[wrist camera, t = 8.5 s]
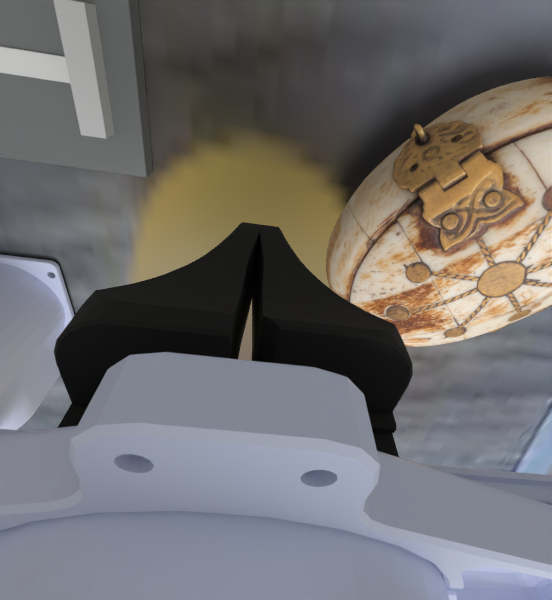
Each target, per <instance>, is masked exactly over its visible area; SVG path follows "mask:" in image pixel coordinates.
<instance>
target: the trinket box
mask: <svg viewBox="0 0 552 600" xmlns="http://www.w3.org/2000/svg"><path fill="white" fill-rule="evenodd" d="M326 272H327V279H328V283H329V286H330V289H331V290H332V291H334V292H335V293H336V294H338V295H339V296H341V297H342V298H344V299H345V300H347V301H349V302H350V303H352V304H354V305H356V306H357V307H359V308H361V309H363V310H365V311H367V312H369V313H371V314H373V315H375V316H378V317H380V318H382V319H384V320H386V321H389V322H391V323H393V324H395V326H396V328H397V330H398V331H399V333H400V335H401V337H402V339H403V342H404V344H405V346H410V347H418V346H432V345H439V344H445V343H451V342H456V341H460V340H465V339H468V338H472V337H475V336H478V335H481V334H484V333H487V332H494V331H496V330H498V329H500V328H503V327H505V326H507V325H509V324H511V323H513V322H516V321H518V320H520V319H522V318H525V317H527V316H530V315H532V314H534V313H537V312H540V311H542V310H544V309H547V308H549V307H551V306H552V76H547V77H539V78H533V79H527V80H522V81H518V82H514V83H510V84H506V85H503V86H500V87H497V88H494V89H491V90H489V91H486V92H483V93H481V94H479V95H476V96H474V97H472V98H470V99H468V100H466V101H464V102H462V103H460V104H458V105H457V106H455V107H453V108H452V109H450V110H448V111H447V112H445V113H444V114H442V115H441V116H439V117H438V118H436V119H435V120H434V121H432V122H431V123H429V124H428V125H427V126H425V127H424V128H422V127H421V125H419V124H415V125H414V130H413V132H412V134H411V137H410V138H409V139H408V140H407V141H406V142H404V143H403V144H402V145H401V146H399V147H398V148H397V149H396V150H395V151H393V152H392V153H391V154H390V155H389V156H388V157H387V158H385V159H384V160H383V161H382V162H381V163H380V164H379V165H378V166H377V167H376V168H375V169H374V170H373V171H372V172H371V173H370V174H369V175H368V176H367V177H366V178H365V179H364V181H363V182H362V183H361V185H360V186H359V187H358V188H357V190H356V191H355V192H354V194H353V195H352V197H351V198H350V200H349V201H348V203H347V204H346V206H345V208H344V210H343V211H342V213H341V215H340V217H339V219H338V221H337V223H336V225H335V227H334V230H333V232H332V235H331V238H330V241H329V245H328V250H327V257H326Z"/></svg>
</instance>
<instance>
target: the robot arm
mask: <svg viewBox="0 0 552 600" xmlns="http://www.w3.org/2000/svg"><path fill="white" fill-rule="evenodd" d="M51 272H52V273H53V274H55V275H53V274H52V273H51ZM251 300H252V361H250V360H240V359H238V356H239V351H240V345H241V341H242V337H243V333H244V329H245V325H246V320H247V317H248V313H249V309H250V305H251ZM60 374H61V377H62V379H63V382H64V384H65V387H66V389H67V392H68V394H69V397H70V399H71V402H72V404H71V406H70V407H69V409H68V411H67V413H66V414H65V416H64V418H63V419H62V421H61V423H60V425H59V426H58V428H53V429H45V430H36V431H20V430H17V429H18V428H19V427H21V426H22V425H23V424H24V423H25V422H27V421H28V420H29V419H30V418H31V416H32V415H33V414H34V413H35V411H36V410H37V408H38V407H39V405H40V404H41V402H42V401H43V399H44V398H45V396H46V395H47V393H48V392H49V390H50V389H51V387H52V386H53V384H54V383H55V381H56V380H57V378H58V377H59V375H60ZM411 377H412V362H411V359H410V357H409V354H408V352H407V349H406V347H405V344H404V342H403V339H402V337H401V335H400V333H399V331H398V330H397V328H396V326H395V324H393V323H391V322H389V321H386V320H384V319H382V318H380V317H378V316H375V315H373V314H371V313H369V312H367V311H365V310H363V309H361V308H359V307H357V306H356V305H354V304H352V303H350V302H349V301H347V300H345V299H344V298H342V297H341V296H339V295H338V294H336V293H335V292H334V291H332V290H331V289H330V288H328V287H327V286H326V285H324V284H323V283H322V282H321V281H320V280H318V279H317V278H316V277H315V276H314V275H313V274H312V273H311V272H310V271H309V270H308V269H307V268H306V267H305V266H304V264H303V263H302V262H301V261H300V260H299V258H298V257H297V256H296V254H295V253H294V251H293V250H292V249H291V247H290V245H289V244H288V242H287V241H286V239H285V237H284V235H283V233H282V231H281V230H280V228H279V227H274V226H267V225H259V224H252V223H244V222H243V223H241V224H240V225H239V226H238V227H237V228H236V229H235V230H234V231H233V232H232V233H231V234H230V235H229V236H228V237H227V238H226V239H225V240H224V241H222V242H221V243H220V244H219V245H218V246H217V247H215V248H214V249H212V250H211V251H210V252H209V253H207V254H206V255H204V256H203V257H201V258H200V259H198V260H196V261H194V262H192V263H190V264H188V265H186V266H184V267H181V268H179V269H177V270H174V271H172V272H170V273H167V274H165V275H161V276H158V277H156V278H152V279H149V280H145V281H141V282H138V283H133V284H129V285H124V286H118V287H113V288H107V289H102V290H95V292H94V293H93V294H92V295H91V296H90V297H89V298H88V299H87V300H86V302H85V303H84V304H83V305H82V306H81V308H80V309H79V310H78V312H77V313H76V314H75V315H74V312H73V309H72V306H71V303H70V299H69V296H68V293H67V290H66V287H65V283H64V280H63V277H62V274H61V270H60V267H59V265H58V264H57V263H55V262H54V261H50V260H42V259H34V258H25V257H17V256H8V255H0V600H552V475H541V474H530V473H518V472H506V471H494V470H482V469H470V468H458V467H447V466H435V465H423V464H418V463H415V462H412V461H409V460H405V459H402V458H399V456H398V452H397V449H396V445H395V441H394V438H393V434H392V433H394V432H395V430H396V422H395V419H394V416H393V410H394V408H395V407H396V405H397V403H398V402H399V400H400V399H401V397H402V395H403V394H404V392H405V390H406V389H407V387H408V385H409V382H410V380H411Z"/></svg>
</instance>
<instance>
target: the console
mask: <svg viewBox="0 0 552 600" xmlns="http://www.w3.org/2000/svg"><path fill="white" fill-rule="evenodd" d="M0 157H2V158H9V159H16V160H24V161H31V162H38V163H45V164H53V165H60V166H67V167H74V168H82V169H89V170H96V171H104V172H111V173H118V174H125V175H133V176H140V177H148V176H149V175H150V174H151V173H152V172H153V162H152V151H151V140H150V129H149V117H148V106H147V95H146V84H145V73H144V62H143V50H142V39H141V28H140V17H139V6H138V0H0Z"/></svg>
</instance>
